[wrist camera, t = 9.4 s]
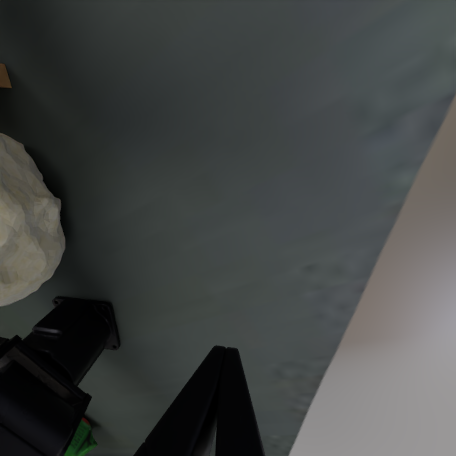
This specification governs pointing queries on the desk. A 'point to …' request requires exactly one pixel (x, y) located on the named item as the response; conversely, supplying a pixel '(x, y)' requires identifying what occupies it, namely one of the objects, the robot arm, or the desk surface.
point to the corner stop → (4, 77)
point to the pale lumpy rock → (26, 225)
